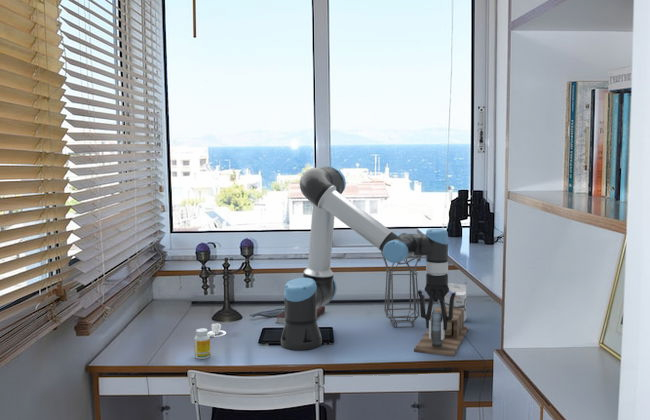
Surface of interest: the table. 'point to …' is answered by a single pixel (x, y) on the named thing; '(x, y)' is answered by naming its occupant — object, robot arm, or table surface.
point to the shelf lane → (445, 336)
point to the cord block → (439, 329)
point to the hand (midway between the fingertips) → (436, 337)
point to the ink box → (458, 297)
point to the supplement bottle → (202, 344)
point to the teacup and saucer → (216, 330)
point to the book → (282, 316)
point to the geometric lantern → (410, 292)
